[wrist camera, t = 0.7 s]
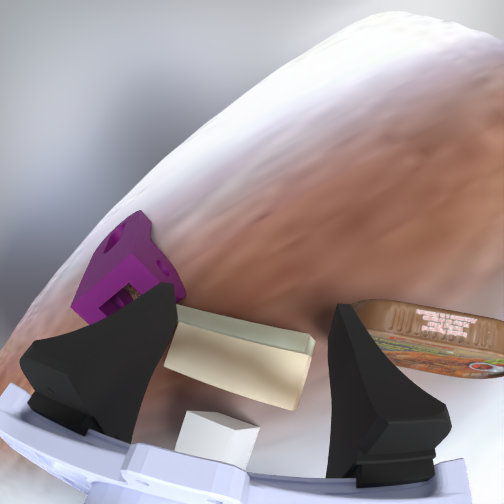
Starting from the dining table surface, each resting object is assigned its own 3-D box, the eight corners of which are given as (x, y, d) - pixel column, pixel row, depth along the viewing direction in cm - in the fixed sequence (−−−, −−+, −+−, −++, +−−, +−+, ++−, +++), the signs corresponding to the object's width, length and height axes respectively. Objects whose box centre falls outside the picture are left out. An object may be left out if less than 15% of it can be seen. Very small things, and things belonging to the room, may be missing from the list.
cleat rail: (296, 410, 24) (286, 410, 22) (171, 368, 31) (153, 363, 28) (315, 341, 27) (308, 333, 24) (190, 313, 33) (174, 303, 31)
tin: (339, 352, 26) (326, 330, 19) (350, 319, 27) (340, 285, 20) (493, 383, 18) (535, 370, 12) (499, 348, 19) (541, 323, 13)
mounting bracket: (134, 279, 47) (125, 355, 31) (99, 241, 43) (70, 307, 27) (179, 244, 47) (188, 310, 31) (144, 202, 43) (132, 253, 27)
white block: (241, 480, 23) (213, 492, 18) (201, 462, 25) (168, 468, 20) (260, 427, 25) (235, 430, 20) (218, 412, 27) (187, 410, 22)
